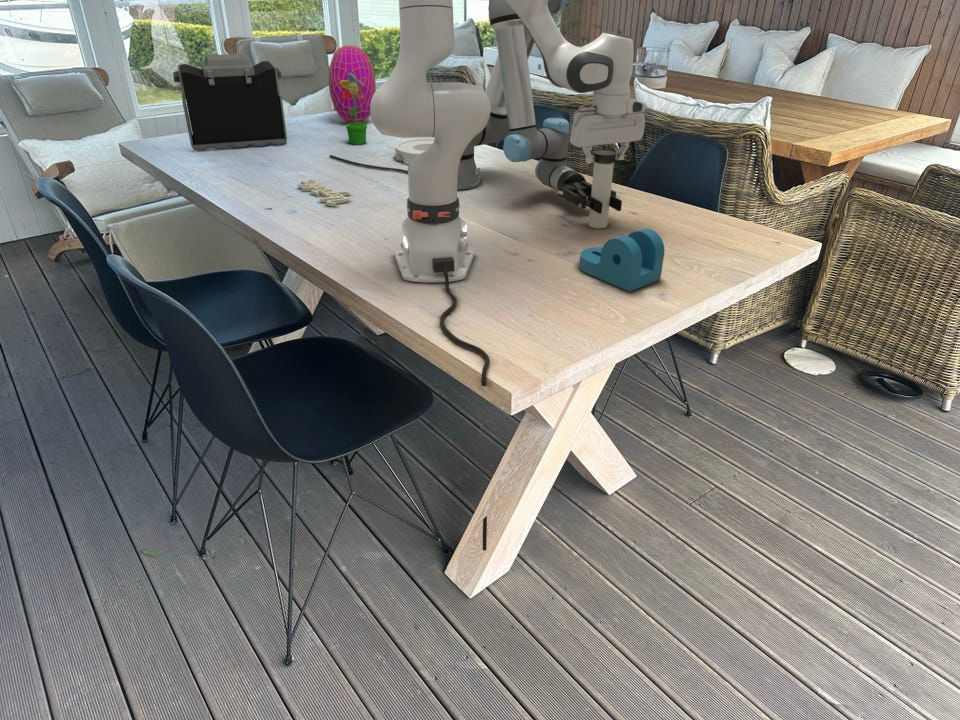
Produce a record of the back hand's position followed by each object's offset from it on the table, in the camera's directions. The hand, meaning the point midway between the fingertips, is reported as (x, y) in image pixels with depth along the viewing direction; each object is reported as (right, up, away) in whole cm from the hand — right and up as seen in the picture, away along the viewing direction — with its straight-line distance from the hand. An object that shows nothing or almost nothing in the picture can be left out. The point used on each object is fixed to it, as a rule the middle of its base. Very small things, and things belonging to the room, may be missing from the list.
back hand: (610, 207), depth 177 cm
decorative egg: (-87, +62, +116) cm, 158 cm away
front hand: (-2, +11, -1) cm, 12 cm away
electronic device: (-126, +43, +84) cm, 157 cm away
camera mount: (-3, -20, -21) cm, 29 cm away
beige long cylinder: (-2, -3, +7) cm, 8 cm away
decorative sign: (-80, +10, +29) cm, 86 cm away
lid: (-2, +13, -2) cm, 13 cm away
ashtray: (-52, +32, +67) cm, 90 cm away
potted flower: (-80, +43, +85) cm, 124 cm away
